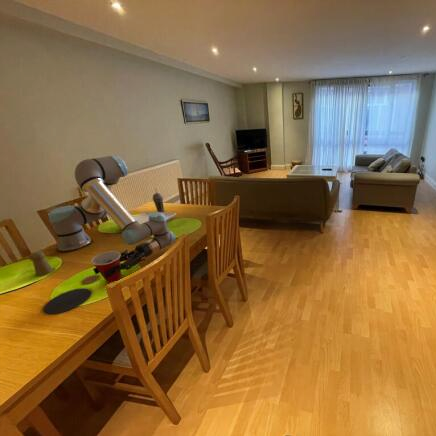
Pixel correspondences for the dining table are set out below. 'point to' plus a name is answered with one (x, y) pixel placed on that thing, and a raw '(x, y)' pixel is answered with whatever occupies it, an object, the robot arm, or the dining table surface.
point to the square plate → (145, 215)
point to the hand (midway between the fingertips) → (99, 273)
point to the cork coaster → (90, 279)
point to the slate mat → (67, 301)
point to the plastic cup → (107, 264)
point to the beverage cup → (158, 201)
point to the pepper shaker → (40, 263)
